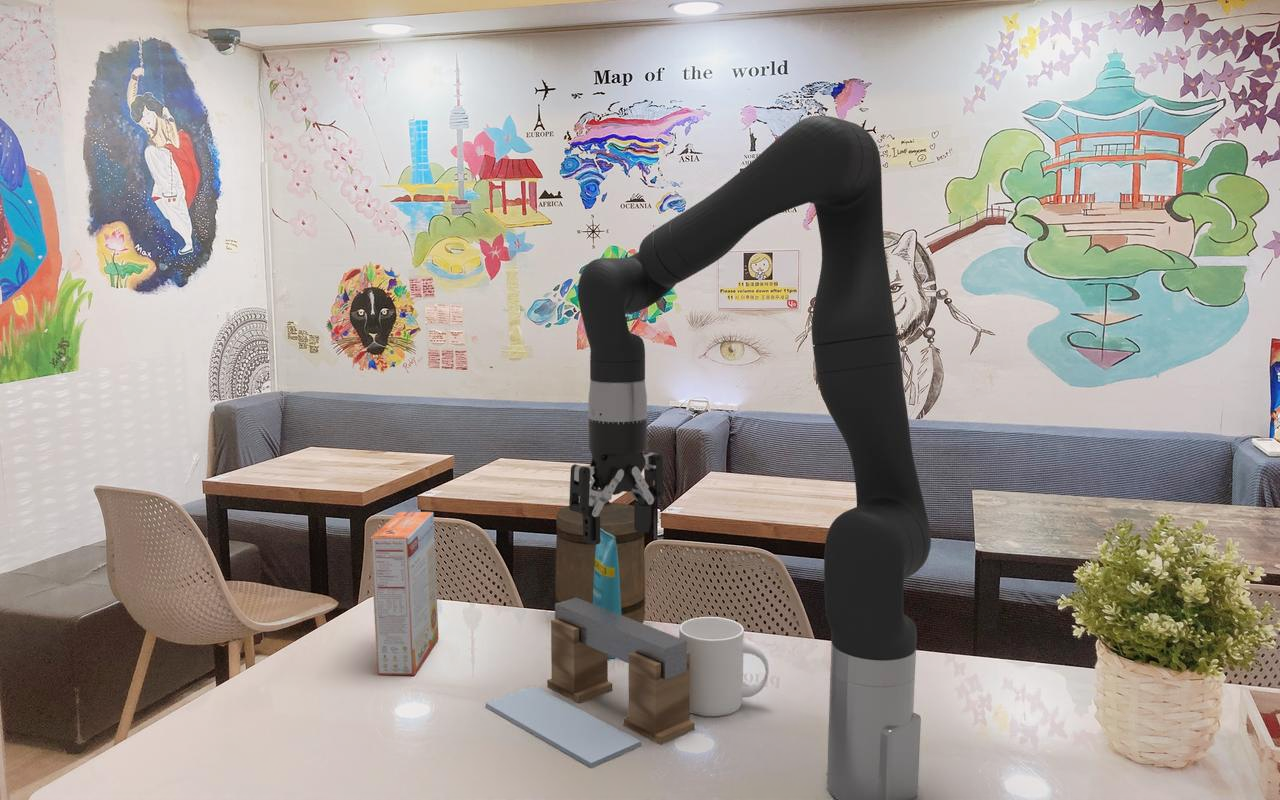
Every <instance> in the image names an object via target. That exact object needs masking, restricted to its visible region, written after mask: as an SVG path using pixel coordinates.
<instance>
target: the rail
mask: <svg viewBox="0 0 1280 800" xmlns="http://www.w3.org/2000/svg"><path fill="white" fill-rule="evenodd" d="M554 619H558V620H560V621H562V622H565V623H567V624H569V625H572V626H574V627H577V628H579V642H581V643H583V644H585V645H587V646H590V647H592V648H594V649H596V650H599V651H601V652H603V653H606V654H608V655H610V656H612V657H615V658H614V659H616V660H620V661H622V662H624V663H626V664H628V665H629V653H632V652H635V653H637V654H640V655H642V656H644V657H647V658H649V659H652V660H654V661H656V662H659V663H661V678H662V679H664V680H666V679H668V678H671V677H673V676H676V675H678V674H681V673H683V672H686V671H687V641H686V640H683V639H681V638H679V636H675V635H672V634H670V633H667V632H665V631H662V630H660V629H657V628H655V627H652V626H649V625H647V624H645V623H640V622H637V621H635V620H632V619H630V618H627V617H625V616H622V615H619V614H617V613H614V612H612V611H609V610H607V609H604V608H602V607H599V606H597V605H594V604H591V603H589V602H586V601H584V600H581V599H579V598H573V599H569V600H566V601H562V602H559V603H556V602H555V603H554Z"/></svg>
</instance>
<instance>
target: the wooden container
mask: <svg viewBox="0 0 1280 800" xmlns="http://www.w3.org/2000/svg"><path fill="white" fill-rule="evenodd" d="M598 492H602V490H601V489H600V488H599V489H598ZM612 496H613V495H612ZM612 496H611V498H610V500H611V499H612ZM610 500H609V501H608V502H606V503H605V504H604V506H603V508H602V509H601V511H600V513H599V515H598V516H600V528H601V529H602V530H603V531H605V532H607V533H609V534H611V535H613V536H614V537H615V540H616V546H617V554H618V565H619V578H620V596H621V614H622V616H625V617H627V618H630V619H632V620H635V621H637V622H640V623H642V624H644V621H645V617H646V616H645V615H646V600H645V599H646V567H645V565H646V564H645V563H646V562H645V561H646V560H645V558H646V557H645V533H642V532H638V531H636V530H635V528H634V505H632V504H626V503H620V502H610ZM594 502H595V501H594ZM593 504H594V503H593ZM592 506H593V505H592ZM555 547H556V548H555V554H556V555H555V604H556V603H559V602H562V601H566V600H569V599H573V598H579V599H581V600H584V601H586V602H589V603H591V604H593V585H594V565H595V552H596V545H592V544H589V543H587V542H586V540H585V539H584V537H583V516H582V514H581V513H578V512H574V511H571V510H570V509H569V505H567V506H565V507H562V508H560V509H559V510H558V511H557V513H556V546H555Z"/></svg>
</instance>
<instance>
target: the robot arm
mask: <svg viewBox="0 0 1280 800" xmlns="http://www.w3.org/2000/svg"><path fill="white" fill-rule="evenodd" d="M882 180H883V179H882V161H881V155H880V151H879V148H878V145H877V142H876V141H875V139H874V138H873V135H871V133H869V131H867V129H865V128H864V127H862V126H861V125H859V124H858V123H855V122H851V121H848V120H846V119H842V118H839V117H835V116H830V115H829V116H828V115H824V114H823V115H813V116H808V117H805V118H803V119H800V120H799V121H798V122H795V124H793V125H792V126H791V127H789V128H788V129H787V130H785V131H784V132H783V133H782V134H781V135H780V136H779V137H778V138H776V139H775V140H774V141H773V142H772V143H771V144H770V145H769V146H768V147H767V148H765V150H763V151H762V152H761V153H760V154H759V155H758V156H756V158H754V160H752V161H751V162H749V164H747V166H745V167H744V168H743V169H741V170H740V171H739V172H738V173H737V174H736V175H734V176H733V177H732V178H731V179H729V180H728V181H726V182H725V183H724V184H723V185H722V186H720V187H719V188H718V189H716V190H715V191H713V192H712V193H711V194H709V195H707V196H706V197H705V198H703V199H701V201H699V202H697V203H696V204H694V205H693V206H691V207H689V208H687V209H686V210H684V211H683V212H682V213H680V214H678V215H677V216H675V217H673V218H671V219H670V220H669V221H667V222H665V223H664V224H662V225H661V226H659V227H657V228H656V229H654V230H653V231H651V232H650V233H648V235H646V236H645V237H644V238H643V239H642V241H641V243H640V244H639V247H638V248H639V250H638V252H636V253H634V254H633V255H630V256H628V257H623V258H622V257H602V258H600V257H599V258H596V259H593V260H591V261H590V262H588V264H586V265H585V267H584V269H583V270H582V271H581V273H580V276H579V280H578V285H577V299H578V307H579V310H580V314H581V318H582V322H583V326H584V331H585V334H586V338H587V341H588V344H589V349H590V357H589V365H590V366H589V370H590V373H589V377H590V378H589V379H590V380H589V381H590V382H589V383H590V384H589V392H588V402H587V403H588V404H587V405H588V406H587V407H588V449H589V451H590V454H591V461H590V464H588V465H580V464H575V463H574V464H573V465H571V466H570V467H571V468H570V475H569V476H570V477H569V478H570V479H569V499H568V500H569V501H568V502H569V505H568V506H569V509H570V510H571V511H574V512H578V513H581V514H582V516H583V537H584V539H585V540H586V542H587V543H589V544H592V545H597V544H599V543H600V516H598V515H599V513H600V511H601V509H602V508H603V506H604V504H605V503H606V502H608V501H609V502H610V500H611V499H612V498H611V496H613V495H614V496H615V495H619V494H621V493H622V492H625V493H630V494H631V495H632V498H634V500H635V501H636V502H634V505H633V506H634V528H635V530H636V531H638V532H642V533H644V534H646V533H648V532H650V527H651V525H652V505H653V504H654V502H655V500H656V499H661V498H663V497H664V494H665V492H664V491H665V490H664V467H663V463H664V462H663V456H662V455H661V454H659V453H656V452H651V451H646V450H647V447H648V395H647V388H646V380H645V379H646V347H645V342H644V340H643V338H642V337H641V336H640V335H638V334H635V333H632V332H630V328H629V325H628V321H627V315H626V314H633V313H637V312H640V311H643V310H645V309H647V308H648V307H651V306H652V305H653V304H656V303H657V302H658V301H660V300H661V299H662V298H663V297H665V296H666V295H667V294H668V292H670V291H671V290H672V289H674V288H675V286H676V285H677V284H679V283H681V282H684V280H687V279H688V278H690V277H692V276H694V275H695V274H697V273H699V272H701V271H703V270H704V269H706V268H707V267H709V266H711V265H712V264H714V263H716V262H718V260H720V259H722V258H723V257H724V256H725V255H727V254H728V253H729V252H730V251H731V250H732V249H733V248H734V247H735V246H736V245H737V244H738V243H739V242H740V241H741V240H742V239H743V238H744V237H746V235H747V234H749V232H750V231H751V230H753V229H754V228H756V227H757V226H758V225H760V224H762V223H764V222H765V221H767V220H769V219H770V218H771V219H772V217H775V216H776V215H779V214H781V213H785V212H786V211H789V210H791V209H794V208H796V207H799V206H802V205H806V204H813V206H814V210H815V214H816V219H817V225H818V232H819V236H820V237H819V239H820V243H821V245H820V246H821V266H820V268H821V269H820V274H819V279H818V284H817V289H816V294H815V298H814V303H813V309H812V310H813V311H812V316H811V317H812V318H811V341H812V343H811V344H812V349H813V351H812V352H813V358H814V366H815V373H816V379H817V382H818V387H819V391H820V394H821V397H822V400H823V402H824V404H825V406H826V408H827V411H828V412H829V414H830V416H831V418H832V419H833V421H834V423H835V425H836V427H837V429H838V430H839V432H840V434H841V435H842V438H843V440H844V442H845V444H846V447H847V449H848V452H849V455H850V459H851V464H852V467H853V475H854V481H855V482H854V483H855V493H856V495H855V496H856V506H855V507H852V508H850V509H849V510H846V511H844V512H842V513H840V515H838V516H837V517H836V518H835V519H834V520H833V522H831V524H830V526H829V529H828V531H827V534H826V538H825V546H824V552H823V553H824V554H823V555H824V556H823V559H824V560H823V570H824V571H823V572H824V573H823V574H824V575H823V578H824V609H825V610H824V611H825V616H826V619H827V622H828V624H829V626H830V633H831V636H830V641H831V643H830V675H829V698H828V699H829V700H828V701H829V703H828V727H827V728H828V731H827V732H828V733H827V736H828V737H827V764H826V765H827V769H826V770H827V771H826V786H827V790H828V791H829V794H831V795H832V796H833V797H834V798H835V799H837V800H912V799H913V798H915V797H917V796H918V794H919V792H918V791H919V775H920V774H919V771H920V770H919V769H920V753H921V752H920V751H921V750H920V749H921V729H922V728H921V725H922V724H921V723H922V717H921V715H920V714H918V713H916V712H914V703H915V681H916V665H917V664H916V663H917V661H916V660H917V637H918V636H917V635H918V634H917V633H918V631H917V630H918V629H917V626H916V624H915V621H913V619H911V617H909V616H908V615H906V614H904V611H905V610H904V581H905V580H906V579H908V578H909V577H911V576H913V575H914V574H915V573H917V572H919V570H920V569H921V568H922V567H923V566H924V565H925V563H926V561H927V560H928V557H929V555H930V551H931V544H932V537H931V535H932V534H931V529H930V528H931V527H930V523H929V522H930V521H929V519H928V514H927V509H926V506H925V501H924V496H923V494H922V493H923V492H922V489H921V485H920V481H919V480H920V479H919V476H918V473H917V468H916V463H915V459H914V454H913V449H912V440H911V431H910V423H909V415H908V408H907V401H906V393H905V386H904V377H903V363H902V356H901V348H900V342H899V334H898V333H899V332H898V326H897V322H896V316H895V309H894V302H893V294H892V287H891V280H890V279H891V278H890V273H889V268H888V261H887V255H886V250H885V249H886V248H885V240H884V223H883V222H884V220H883V219H884V218H883V181H882ZM645 451H646V452H645ZM643 472H644V473H643ZM642 473H643V474H644V475H642ZM598 489H601V490H602V492H598ZM610 498H611V499H610ZM594 501H595V502H594ZM593 503H594V504H593ZM592 505H593V506H592Z"/></svg>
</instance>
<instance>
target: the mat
mask: <svg viewBox="0 0 1280 800" xmlns="http://www.w3.org/2000/svg"><path fill="white" fill-rule="evenodd" d="M485 708H487V709H489V710H490V711H492V712H494V713H496V714H497V715H499V716H501V717H503V718H504V719H506V720H508V721H509V722H511V723H512V724H514V725H516V726H518V727H520V728H521V729H523V730H524V731H527V733H530V734H531V735H533V736H535V737H537V738H538V739H541V740H542V741H544V742H545V743H548V744H549V745H550V746H553V747H554V748H556V749H558V750H559V751H562V752H563V753H564V754H567V755H568V756H570V757H572V758H574V760H577V761H578V762H581V763H582V764H583V765H586V766H587V767H589V768H594V767H597V766H598V765H601V764H603V763H605V762H607V761H610V760H612V759H614V758H617V757H619V756H621V755H623V754H626V753H628V752H631V751H633V750H635V749H637V748H640V747H641V746H642V741H640V739H637V738H635V737H633V736H632V735H629V734H627V733H626V732H624V731H622V730H620V729H619V728H616V727H614V726H613V725H610V724H608V723H607V722H604V721H603V720H601V719H599V718H597V717H595V716H593V715H591V714H589V713H587V712H585V711H583V710H581V709H579V708H578V707H576V706H574V705H572V704H570V703H568V702H565V700H562V699H560V698H558V697H556V696H554V695H552V694H551V693H549V692H547V691H546V690H545V691H544V690H542V689H541V688H539V687H537V686H535V685H532V686H529V687H526V688H524V689H521V690H518V691H516V692H515V691H514V692H512V693H510V694H507V695H504V696H501V697H498V698H495V699H492V700H490V701H486V702H485Z"/></svg>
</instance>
